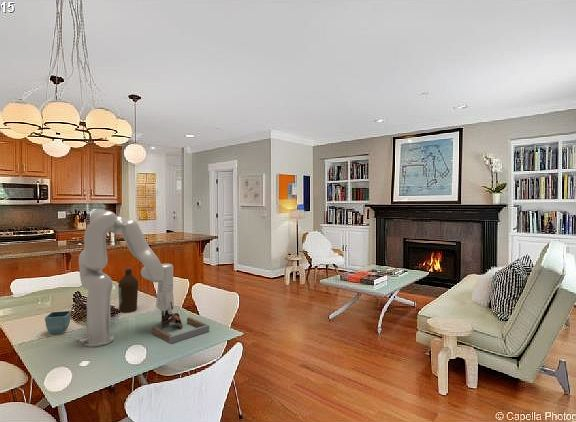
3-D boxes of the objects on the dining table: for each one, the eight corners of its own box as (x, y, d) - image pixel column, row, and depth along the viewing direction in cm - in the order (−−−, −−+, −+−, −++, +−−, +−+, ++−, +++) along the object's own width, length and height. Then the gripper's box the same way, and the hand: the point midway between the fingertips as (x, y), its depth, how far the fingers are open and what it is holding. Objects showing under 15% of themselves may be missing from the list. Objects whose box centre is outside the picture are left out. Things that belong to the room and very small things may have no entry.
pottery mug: (181, 332, 172) (172, 319, 170) (164, 339, 173) (156, 326, 171) (187, 318, 184) (179, 306, 182) (172, 325, 185) (164, 312, 183)
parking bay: (170, 343, 157) (171, 337, 157) (151, 333, 169) (152, 327, 169) (209, 331, 173) (209, 325, 173) (189, 322, 185) (189, 317, 185)
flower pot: (44, 336, 162) (44, 317, 162) (51, 329, 171) (51, 311, 170) (65, 335, 164) (65, 316, 164) (71, 328, 173) (71, 310, 173)
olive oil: (137, 306, 210) (138, 265, 209) (138, 311, 200) (138, 269, 200) (118, 308, 205) (118, 266, 204) (118, 314, 196) (118, 270, 195)
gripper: (151, 286, 183) (151, 320, 183) (166, 291, 173) (166, 327, 173) (164, 284, 188) (164, 317, 189) (179, 289, 179) (179, 324, 179)
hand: (165, 322), depth 181 cm, fingers closed
